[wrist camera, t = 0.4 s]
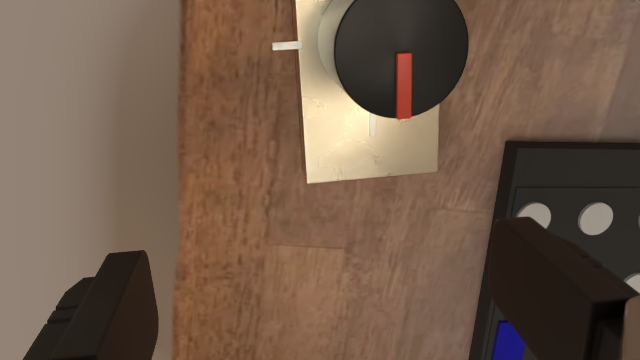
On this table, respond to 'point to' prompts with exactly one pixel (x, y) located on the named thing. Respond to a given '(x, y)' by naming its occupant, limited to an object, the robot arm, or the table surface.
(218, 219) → the table surface
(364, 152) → the panel
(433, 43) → the hob knob
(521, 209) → the remote control
